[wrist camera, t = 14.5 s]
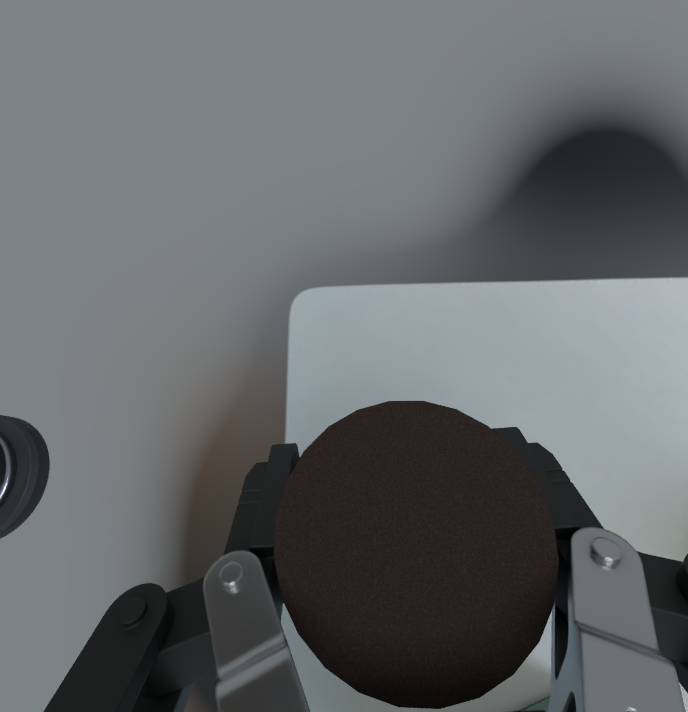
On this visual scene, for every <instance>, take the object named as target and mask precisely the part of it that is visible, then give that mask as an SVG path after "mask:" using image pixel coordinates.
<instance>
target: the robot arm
mask: <svg viewBox="0 0 688 712" xmlns="http://www.w3.org/2000/svg"><path fill="white" fill-rule="evenodd" d="M492 430H493V431H494V432H495V433H496V434H497V435H498V436H500V437H501V438H502V439H503V440H504V441H505V442H506V443H508V444H509V445H510V446H511V447H512V448H513V449H514V450H515V451H516V452H517V453H518V455H519V456H520V457H521V459H522V460H523V462H524V463H525V465H526V466H527V467H528V469H529V470H530V472H531V473H532V474H533V476H534V477H535V479H536V480H537V482H538V483H539V486H540V488H541V491H542V493H543V496H544V498H545V501H546V503H547V506H548V508H549V511H550V513H551V516H552V518H553V521H554V529H555V536H556V543H557V550H558V557H559V568H558V577H557V586H556V595H555V603H554V606H553V608H552V647H551V692H550V700H549V707H548V712H685V708H684V703H683V698H682V694H681V689H680V685H679V682H680V684H681V685H682V686H683V687H684V689H685V690H686V691H687V693H688V554H687V556H686V557H685V559H684V561H683V562H681V561H676V560H671V559H667V558H662V557H657V556H652V555H648V554H644V553H641V552H638V551H636V550H635V549H634V548H633V547H632V545H631V544H629V543H628V542H627V541H626V540H625V539H623V538H622V537H620V536H619V535H617V534H615V533H613V532H611V531H609V530H605V529H604V528H603V527H602V525H601V524H600V523H599V521H598V520H597V518H596V517H595V515H594V514H593V512H592V511H591V509H590V508H589V507H588V505H587V504H586V502H585V501H584V499H583V498H582V496H581V495H580V493H579V492H578V490H577V489H576V488H575V486H574V485H573V483H572V482H570V479H569V477H568V476H567V474H566V473H565V472H564V471H563V470H562V467H561V466H560V464H559V463H558V461H557V460H556V458H555V457H554V456H553V454H552V453H550V452H549V451H548V450H546V449H545V448H544V447H542V446H541V445H540V444H538V443H527V441H526V439H525V438H524V436H523V435H522V433H521V431H520V430H519V429H518V428H517V427H508V428H495V429H492ZM299 459H300V457H299V452H298V447H297V444H296V443H291V444H278V445H272V447H271V451H270V456H269V460H268V462H263V463H256V464H255V465H254V466H253V468H252V469H251V470H250V472H249V473H248V474H247V476H246V478H245V482H244V485H243V489H242V493H241V496H240V499H239V505H238V506H237V510H236V513H235V517H234V520H233V524H232V528H231V531H230V534H229V538H228V542H227V545H226V548H225V551H224V554H223V556H222V557H221V558H219V559H218V560H217V561H216V562H215V563H214V564H213V565H212V566H211V567H210V568H209V570H208V572H207V574H206V576H204V577H203V578H201V579H199V580H198V581H195V582H193V583H190V584H188V585H185V586H183V587H180V588H177V589H175V590H172V591H170V592H167V593H165V591H164V589H163V588H162V587H160V586H159V585H156V584H152V583H149V584H148V583H147V584H141V585H138V586H135V587H133V588H131V589H129V590H128V591H126V592H125V593H123V594H122V595H121V596H119V598H117V599H116V600H115V601H114V602H113V604H112V605H111V606H110V607H109V609H108V610H107V611H106V613H105V615H104V616H103V618H102V619H101V621H100V623H99V624H98V626H97V627H96V629H95V631H94V632H93V634H92V636H91V637H90V638H89V640H88V642H87V644H86V645H85V647H84V649H83V650H82V651H81V653H80V655H79V656H78V658H77V659H76V661H75V663H74V664H73V666H72V667H71V669H70V670H69V672H68V674H67V675H66V677H65V678H64V680H63V682H62V683H61V685H60V686H59V688H58V690H57V691H56V693H55V694H54V696H53V698H52V699H51V701H50V702H49V704H48V706H47V707H46V709H45V710H44V712H184V709H185V707H186V704H187V701H188V699H189V696H190V693H191V691H192V688H193V686H194V683H195V682H197V681H199V680H202V679H204V678H206V677H208V676H210V675H213V674H215V673H217V681H216V682H215V694H216V702H217V709H218V712H310V709H309V706H308V703H307V700H306V697H305V694H304V691H303V688H302V685H301V682H300V679H299V676H298V673H297V670H296V667H295V664H294V661H293V658H292V655H291V652H290V649H289V646H288V643H287V640H286V637H285V634H284V631H283V628H282V625H281V614H282V606H283V603H284V601H283V599H282V597H281V592H280V587H279V582H278V577H277V571H276V566H275V561H274V539H275V518H276V514H277V511H278V508H279V504H280V501H281V497H282V494H283V491H284V487H285V484H286V481H287V479H288V478H289V476H290V474H291V472H292V471H293V469H294V467H295V466H296V464H297V462H298V461H299ZM15 476H16V456H15V452H14V449H13V447H12V445H11V443H10V441H9V440H8V439H7V438H6V437H5V436H4V435H3V434H2V433H0V508H1V507H2V505H3V504H4V503H5V501H6V500H7V498H8V496H9V494H10V492H11V490H12V487H13V484H14V481H15ZM515 712H545V710H535V711H515Z"/></svg>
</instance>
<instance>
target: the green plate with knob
mask: <svg viewBox="0 0 688 712" xmlns="http://www.w3.org/2000/svg"><path fill="white" fill-rule="evenodd" d="M549 700H550V697H549V698H546V699H544V700H542V701H540V702H538V703H536V704H534V705H532V706H530V707H528V708H526V709H524V710H522V711H535V710H545V712H548V707H549Z"/></svg>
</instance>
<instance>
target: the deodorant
mask: <svg viewBox="0 0 688 712" xmlns="http://www.w3.org/2000/svg"><path fill="white" fill-rule="evenodd" d="M274 561H275V566H276V571H277V577H278V582H279V587H280V592H281V597H282V599H283V601H284V604H285V606H286V608H287V610H288V612H289V614H290V617H291V619H292V621H293V623H294V625H295V628H296V630H297V632H298V634H299V635H300V637H301V638H302V639H303V640H304V642H305V643H306V644H307V645H308V647H309V648H310V649H311V650H312V652H313V653H314V654H315V655H316V657H317V658H318V659H319V661H320V662H321V663H322V664H323V666H324V667H325V668H326V669H328V670H329V671H330V672H332V673H333V674H334V675H336V676H337V677H339V678H340V679H341V680H343V681H344V682H345V683H347V684H348V685H349V686H351V687H352V688H354V689H355V690H356V691H358V692H359V693H362V694H364V695H367V696H370V697H372V698H375V699H378V700H381V701H383V702H386V703H389V704H392V705H394V706H397V707H408V708H431V709H441V708H445V707H448V706H452V705H456V704H459V703H463V702H466V701H470V700H473V699H477V698H480V697H481V696H483V695H484V694H486V693H487V692H489V691H490V690H492V689H493V688H494V687H496V686H497V685H499V684H500V683H502V682H503V681H505V680H506V679H508V678H509V677H511V676H512V675H513V674H514V673H515V672H516V671H517V669H518V668H519V667H520V666H521V664H522V663H523V662H524V661H525V659H526V658H527V657H528V656H529V654H530V653H531V652H532V650H533V649H534V648H535V647H536V645H537V644H538V643H539V641H540V639H541V636H542V634H543V631H544V629H545V626H546V624H547V621H548V619H549V616H550V613H551V611H552V608H553V606H554V603H555V595H556V586H557V577H558V568H559V557H558V550H557V543H556V536H555V529H554V521H553V518H552V516H551V513H550V511H549V508H548V506H547V503H546V501H545V498H544V496H543V493H542V491H541V488H540V486H539V483H538V482H537V480H536V479H535V477H534V476H533V474H532V473H531V472H530V470H529V469H528V467H527V466H526V465H525V463H524V462H523V460H522V459H521V457H520V456H519V455H518V453H517V452H516V451H515V450H514V449H513V448H512V447H511V446H510V445H509V444H508V443H506V442H505V441H504V440H503V439H502V438H501V437H500V436H498V435H497V434H496V433H495V432H494V431H493V430H492V429H491V428H489V427H488V426H487V425H485V424H483V423H481V422H479V421H477V420H475V419H473V418H472V417H470V416H468V415H466V414H464V413H462V412H460V411H458V410H457V409H453V408H449V407H445V406H441V405H437V404H433V403H429V402H425V401H388V402H385V403H381V404H377V405H374V406H370V407H367V408H363V409H359V410H356V411H355V412H353V413H351V414H350V415H348V416H346V417H344V418H343V419H341V420H339V421H338V422H336V423H334V424H332V425H331V426H329V427H328V428H327V429H326V430H325V431H324V432H323V433H322V434H321V435H320V436H319V437H318V438H317V439H316V440H315V441H314V442H313V443H312V444H311V445H310V446H309V447H308V448H307V449H306V450H305V451H304V452H303V454H302V456H301V457H300V459H299V461H298V462H297V464H296V466H295V467H294V469H293V471H292V472H291V474H290V476H289V478H288V479H287V481H286V484H285V487H284V491H283V494H282V497H281V501H280V504H279V508H278V511H277V514H276V518H275V539H274Z"/></svg>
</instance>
